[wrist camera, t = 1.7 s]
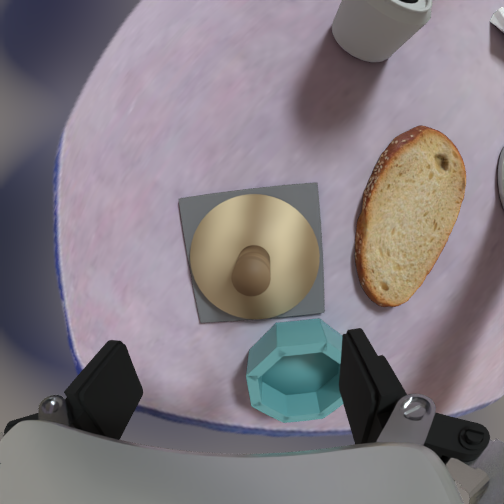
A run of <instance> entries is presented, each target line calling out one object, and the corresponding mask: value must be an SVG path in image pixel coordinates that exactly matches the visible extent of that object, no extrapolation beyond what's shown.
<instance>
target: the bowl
mask: <svg viewBox="0 0 504 504" xmlns="http://www.w3.org/2000/svg"><path fill="white" fill-rule="evenodd" d="M341 350H342V335H341V334H339V333H338V332H337V331H335V330H334V329H333V328H331V327H330V326H329V325H327V324H326V323H325V322H323V321H322V320H321V319H319V318H318V319H309V320H300V321H291V322H280V323H275V324H274V326H273V327H272V328H271V329H270V330H269V331H268V332H267V333H266V334H265V335H264V336H263V337H262V338H261V339H260V340H259V341H258V342H257V343H256V344H255V345H254V346H253V347H252V348H251V349H250V350H249V355H248V364H247V372H246V379H247V385H248V390H249V396H250V401H251V406H252V407H253V408H255V409H257V410H259V411H261V412H263V413H265V414H267V415H269V416H271V417H273V418H275V419H277V420H279V421H281V422H284V423H287V422H298V421H307V420H315V419H323V418H325V417H326V416H328V415H329V414H330V413H332V412H333V411H334V410H336V409H337V408H338V407H340V406H341V405H342V404H343V401H342V397H341V394H340V391H339V375H340V364H341Z"/></svg>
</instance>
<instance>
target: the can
mask: <svg viewBox="0 0 504 504" xmlns="http://www.w3.org/2000/svg"><path fill="white" fill-rule="evenodd" d="M431 7H432V0H342V2H341V4H340V6H339V9H338V11H337V13H336V16H335V18H334V21H333V24H332V33H333V36H334V38H335V40H336V42H337V43H338V44H339V45H340V46H341V47H342V48H343V49H344V50H345V51H346V52H348V53H349V54H351V55H352V56H354V57H356V58H359V59H361V60H364V61H369V62H382V61H384V60H386V59H388V58H389V57H390V56H391V55H392V54H393V53H394V52H396V51H397V50H398V49H399V48H400V47H401V46H402V45H403V44H404V43H405V42H406V41H407V40H408V39H410V38H411V37H412V36H413V35H414V34H415V33H416V32H417V31H418V30H419V29H421V28H422V27H423V26H424V25H425V24H426V23H427V22H428V21H429V19H430V18H431Z"/></svg>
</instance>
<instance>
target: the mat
mask: <svg viewBox="0 0 504 504" xmlns="http://www.w3.org/2000/svg"><path fill="white" fill-rule="evenodd" d="M246 194H262V195H268V196H272V197H275V198H278V199H281V200H283V201H285V202H286V203H288V204H290V205H291V206H293V207H294V208H295V209H296V210H298V211H299V212H300V213H301V214H302V215H303V216H304V218H305V219H306V220H307V221H308V223H309V224H310V226H311V228H312V229H313V231H314V234H315V236H316V239H317V242H318V246H319V254H320V257H319V269H318V273H317V277H316V279H315V282H314V284H313V286H312V288H311V289H310V291H309V293H308V294H307V295H306V296H305V298H304V299H303V300H302V301H301V302H300V303H299V304H297V305H296V306H295V307H293V308H292V309H290V310H289V311H287V312H285V313H283V314H280V315H278V316H275V317H271V318H278V317H288V316H298V315H307V314H316V313H324V272H323V250H322V233H321V219H320V206H319V195H318V185H317V183H304V184H292V185H282V186H272V187H262V188H253V189H244V190H236V191H228V192H221V193H213V194H206V195H199V196H193V197H186V198H180V199H179V206H180V213H181V219H182V226H183V232H184V238H185V244H186V250H187V256H188V262H189V267H190V273H191V278H192V283H193V288H194V293H195V298H196V303H197V308H198V313H199V317H200V322H201V323H203V322H224V321H240V320H254V319H245V318H241V317H237V316H234V315H231V314H228V313H226V312H224V311H222V310H221V309H219V308H218V307H216V306H215V305H214V304H213V303H211V302H210V301H209V300H208V299H207V298H206V297H205V296H204V294H203V293H202V291H201V290H200V289H199V287H198V285H197V283H196V281H195V279H194V276H193V273H192V269H191V263H190V249H191V243H192V239H193V236H194V233H195V231H196V229H197V227H198V225H199V224H200V222H201V221H202V219H203V218H204V217H205V216H206V215H207V214H208V213H209V212H210V211H211V210H212V209H213V208H215V207H216V206H218V205H219V204H220V203H222V202H224V201H226V200H229V199H231V198H234V197H237V196H241V195H246Z"/></svg>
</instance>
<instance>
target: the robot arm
mask: <svg viewBox="0 0 504 504" xmlns="http://www.w3.org/2000/svg"><path fill="white" fill-rule="evenodd" d="M498 187H499V194H500V199H501V203H502V206H503V209H504V148H503V150H502V152H501V155H500V159H499V165H498ZM339 391H340V394H341V397H342V401H343V404H344V407H345V411H346V414H347V417H348V421H349V424H350V427H351V431H352V434H353V438H354V441H355V445H349V446H341V447H334V448H326V449H318V450H310V451H299V452H287V453H269V454H222V453H221V454H220V453H203V452H192V451H181V450H173V449H165V448H159V447H152V446H147V445H141V444H136V443H131V442H126V441H122V440H119V439H120V438H121V436H122V434H123V432H124V430H125V427H126V426H127V424H128V422H129V420H130V418H131V416H132V414H133V412H134V411H135V409H136V407H137V405H138V403H139V401H140V399H141V397H142V395H143V389H142V386H141V384H140V381H139V379H138V376H137V374H136V371H135V369H134V366H133V364H132V361H131V358H130V356H129V353H128V350H127V347H126V345H125V344H123V343H122V342H121V341H116V340H109V341H108V342H107V343H106V344H105V345H104V346H103V347H102V349H101V350H100V351H99V352H98V353H97V354H96V355H95V356H94V358H93V359H92V360H91V361H90V362H89V363H88V364H87V366H86V367H85V368H84V369H83V370H82V371H81V373H80V374H79V375H78V376H77V377H76V379H75V380H74V381H73V382H72V383H71V384H70V386H69V387H68V388H67V389H66V390H65V392H64V393H65V394H66V396H67V398H66V399H64V398H63V397H62V396H60V395H51V396H48V397H46V398H45V399H44V400H42V401H41V403H40V405H39V408H38V413H36V414H33V415H30V416H27V417H23V418H20V419H16V420H13V421H10V422H9V423H8V424H7V426H6V428H5V430H4V434H3V433H0V504H464V502H463V500H462V497H461V495H460V493H459V490H458V488H457V486H456V484H455V482H454V481H456V482H458V483H459V484H461V486H460V488H462V489H464V490H465V491H466V492H467V493H468V494H469V498H470V500H469V504H504V443H503V442H502V441H500V440H498V439H496V440H495V441H492V440H490V435H489V432H488V430H487V429H486V428H485V427H484V426H483V425H481V424H478V423H474V422H470V421H466V420H462V419H458V418H454V417H450V416H446V415H443V414H439V413H435V410H436V407H435V404H434V402H433V401H432V399H430V398H429V397H427V396H425V395H422V394H409V395H407V394H406V392H405V390H404V389H403V387H402V385H401V383H400V382H399V380H398V378H397V376H396V375H395V373H394V371H393V370H392V368H391V366H390V365H389V363H388V361H387V360H386V358H385V357H384V356H383V355H381V356H377V354H376V352H375V350H374V349H373V347H372V345H371V344H370V342H369V340H368V338H367V337H366V335H365V333H364V332H363V330H362V329H361V328H358V329H351V330H348V331H347V334H343V336H342V350H341V364H340V375H339Z"/></svg>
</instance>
